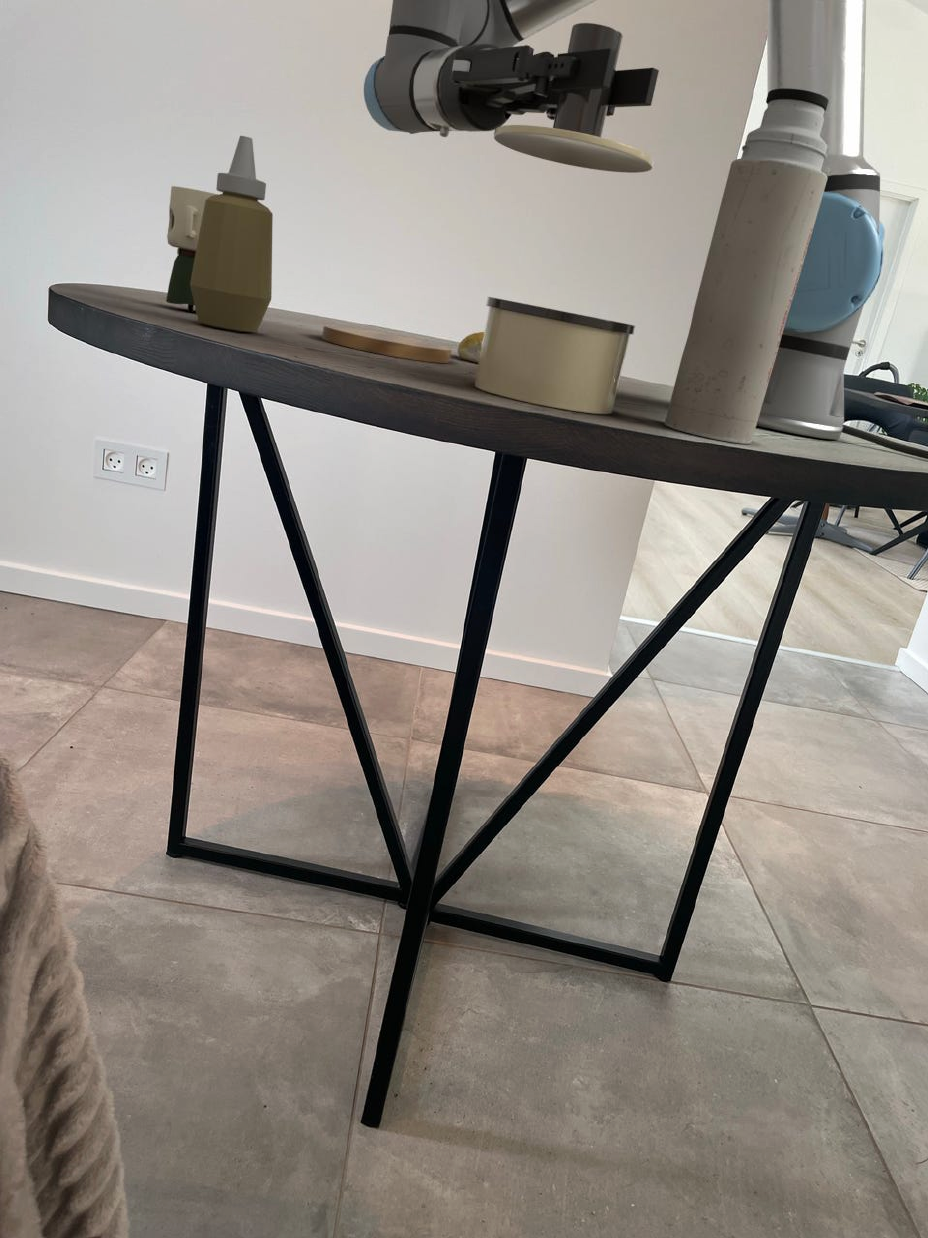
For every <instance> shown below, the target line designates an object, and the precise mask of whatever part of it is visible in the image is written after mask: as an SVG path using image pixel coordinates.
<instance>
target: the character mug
mask: <svg viewBox="0 0 928 1238" xmlns="http://www.w3.org/2000/svg"><path fill="white" fill-rule="evenodd" d="M214 195H219V194H217V193H214V192H209V191H205V190H199V189H194V188H188V187H184V186H175V185H172V186H171V188H170V198H169V205H168V207H169V208H168V209H169V210H168V211H169V213H168V214H169V215H168V216H169V218H168V229H167V235H166V240H167V244H168V245H169V246H171V247H172V248H177V249H176V257H175V259H174V262H173V265H172V269H171V275H170V278H169V282H168V288H167V294H166V299H165V302H167V303H168V304H172V305H187V312H190V313H192V312H194V310H195V311H196V309H195V304H194V300H193V295H192V291H191V286H190V282H191V276H192V271H193V265H194V260H195V255H196V249H197V244H198V238H199V233H200V227H201V222H202V217H203V211H204V206H205V200H206V199H208V198H209V197H211V196H214Z"/></svg>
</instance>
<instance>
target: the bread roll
mask: <svg viewBox="0 0 928 1238" xmlns="http://www.w3.org/2000/svg"><path fill="white" fill-rule="evenodd" d="M483 337H484V331H479V332H473V333H470V334H469V335H466V336H465V337H464V338H463V339H462V340H461V341H460V342H459V344H458V347H457V354H458V356H459V357H460V358H461V359H462V360H464V361H468V362H471V363H475V364H479V358H480V353H481V347H482V342H483Z"/></svg>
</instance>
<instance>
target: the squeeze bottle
mask: <svg viewBox="0 0 928 1238" xmlns="http://www.w3.org/2000/svg"><path fill="white" fill-rule="evenodd" d="M253 141H254V140H253V138H252V137H249V136H245V135H240V136H239V138H238V141H237V144H236V148H235V150H234V154H233V158H232V160H231V164H230V167H229V169H228V172H218V173H217V175H216V176H217V177H216V188H215V189H216V191H218V192H220V193H219V194H218V195H214V196H211V197H209V198H208V199H206V200H205V206H204V211H203V217H202V222H201V227H200V233H199V238H198V244H197V249H196V255H195V260H194V265H193V271H192V276H191V282H190V286H191V291H192V295H193V300H194V304H195V306H194V310H195V309H196V310H195V313H196V317H197V321H198V322H199V323H201V324H203V325H205V326H207V327H210V328H213V329H218V330H224V331H230V332H235V333H236V332H237V333H246V334H249V333H257V332H258V330H259V328H260V325H261V323H262V321H263V318H264V316H265V314H266V312H267V310H268V308H269V305H270V304H271V302H272V289H273V287H272V285H273V279H272V278H273V274H272V273H273V219H274V218H273V217H274V216H273V214H274V213H273V212H272V211H271V210H270V208H268V206H266V205H265V204H263V203H262V202H260V201H265V199H266V190H267V183H266V182H264V181H262V180H260V179H257V173H256V172H257V171H256V163H255V154H254V153H255V152H254V142H253Z"/></svg>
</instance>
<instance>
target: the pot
mask: <svg viewBox="0 0 928 1238" xmlns="http://www.w3.org/2000/svg"><path fill="white" fill-rule="evenodd" d="M485 306H486V307H488V309H487V315H486V322H485V326H484V331H483V332H484V337H483V342H482V347H481V353H480V358H479V363H477V368H476V369H477V370H476V376H475V381H474V387H475V388H476V389H479V390H481V391H483V392H487V393H490V394H492V395H496V396H499V397H503V398H507V399H510V400H511V399H512V400H515V401H520V402H523V403H527V404H532V405H537V406H541V407H548V408H553V409H558V410H564V411H570V412H576V413H584V414H591V415H592V414H593V415H611V414H612V413H613V411H614V406H615V401H616V397H617V393H618V388H619V385H620V381H621V377H622V371H623V368H624V364H625V359H626V355H627V351H628V347H629V342H630V338H631V336H632V335H635V331H636V327H637V326H636V325H635V324H628V323H624V322H621V321H615V320H609V319H604V318H600V317H599V318H598V317H594V316H589V315H584V314H580V313H573V312H568V311H563V310H558V309H554V308H548V307H544V306H540V305H539V306H538V305H533V304H529V303H524V302H519V301H512V300H509V299H503V298H497V297H493V296H487V298H486V302H485Z"/></svg>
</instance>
